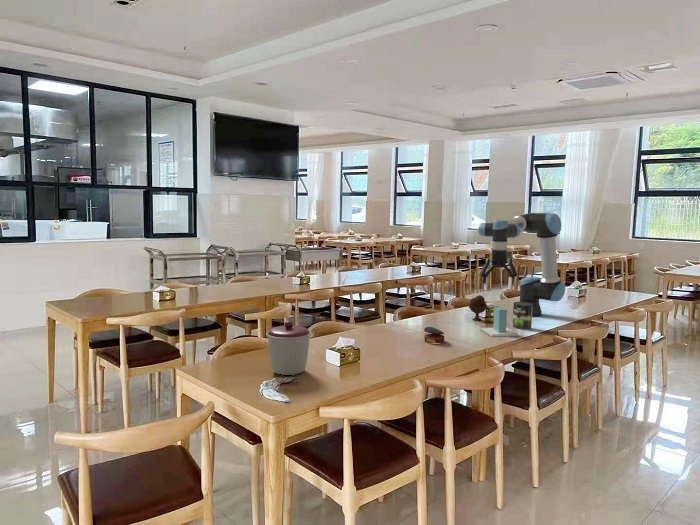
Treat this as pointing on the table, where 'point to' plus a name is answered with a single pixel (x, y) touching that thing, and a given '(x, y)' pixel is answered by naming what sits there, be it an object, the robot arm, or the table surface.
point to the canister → (288, 348)
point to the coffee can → (522, 315)
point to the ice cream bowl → (477, 306)
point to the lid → (499, 324)
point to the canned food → (433, 335)
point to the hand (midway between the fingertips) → (497, 289)
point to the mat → (499, 336)
